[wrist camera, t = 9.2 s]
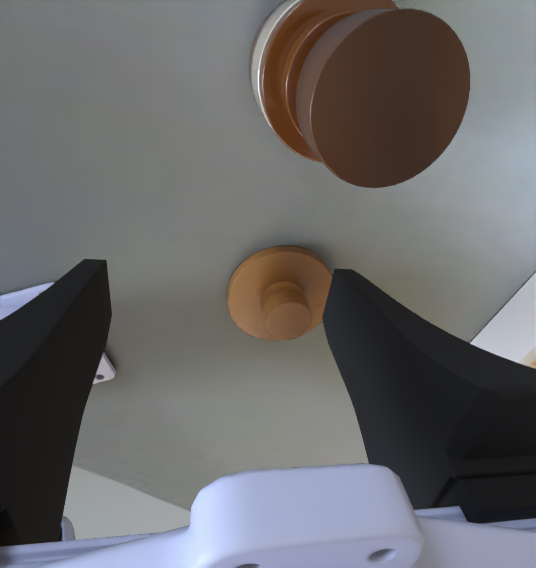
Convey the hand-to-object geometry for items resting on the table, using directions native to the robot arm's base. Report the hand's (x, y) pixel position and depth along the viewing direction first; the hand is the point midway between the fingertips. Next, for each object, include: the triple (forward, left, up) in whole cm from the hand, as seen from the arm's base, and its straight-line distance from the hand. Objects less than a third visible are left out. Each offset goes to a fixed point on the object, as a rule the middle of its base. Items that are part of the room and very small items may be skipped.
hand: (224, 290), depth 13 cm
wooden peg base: (+2, -8, -10) cm, 13 cm away
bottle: (+6, +4, -10) cm, 12 cm away
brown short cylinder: (+6, +4, -3) cm, 8 cm away
